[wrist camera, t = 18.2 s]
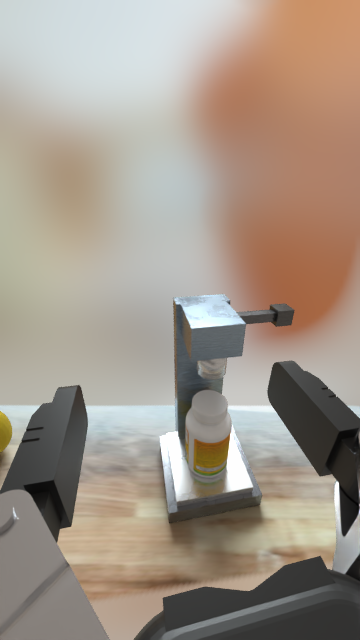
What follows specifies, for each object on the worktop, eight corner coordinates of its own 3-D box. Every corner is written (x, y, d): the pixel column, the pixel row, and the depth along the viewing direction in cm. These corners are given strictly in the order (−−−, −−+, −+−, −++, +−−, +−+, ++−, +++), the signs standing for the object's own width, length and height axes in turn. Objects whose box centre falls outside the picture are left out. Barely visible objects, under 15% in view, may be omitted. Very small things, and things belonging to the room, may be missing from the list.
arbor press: (169, 522, 29) (161, 354, 18) (159, 439, 38) (151, 299, 28) (289, 498, 31) (342, 336, 21) (251, 425, 40) (274, 290, 30)
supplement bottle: (236, 461, 32) (244, 404, 28) (205, 489, 29) (209, 430, 25) (206, 433, 36) (210, 379, 31) (176, 455, 33) (175, 398, 28)
